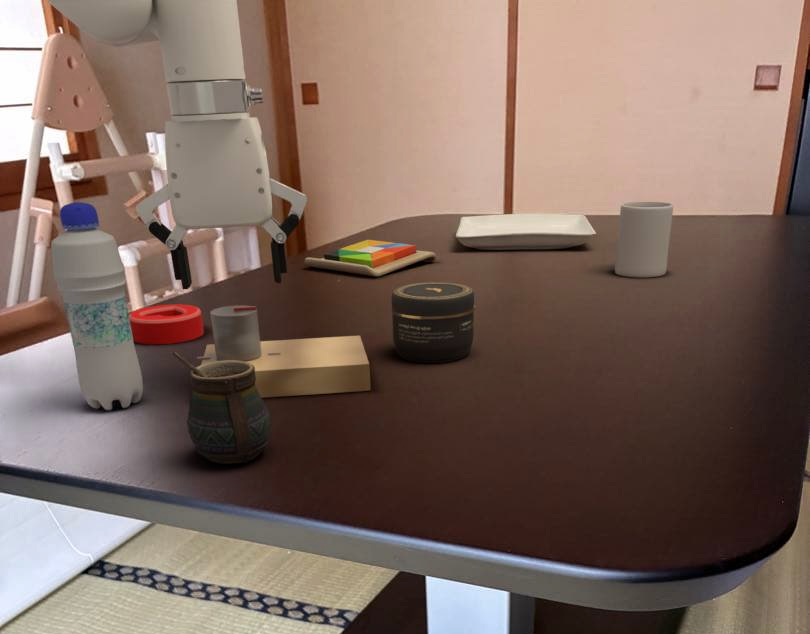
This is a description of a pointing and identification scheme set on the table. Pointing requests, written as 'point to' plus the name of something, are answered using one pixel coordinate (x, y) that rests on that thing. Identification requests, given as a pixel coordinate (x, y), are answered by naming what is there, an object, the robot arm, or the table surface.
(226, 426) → the mate gourd
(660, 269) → the mug
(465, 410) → the table surface
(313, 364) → the wooden peg base
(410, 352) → the jar
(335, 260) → the wooden puzzle
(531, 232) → the square plate
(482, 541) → the table surface
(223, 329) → the cylinder
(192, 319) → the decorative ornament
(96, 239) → the bottle
